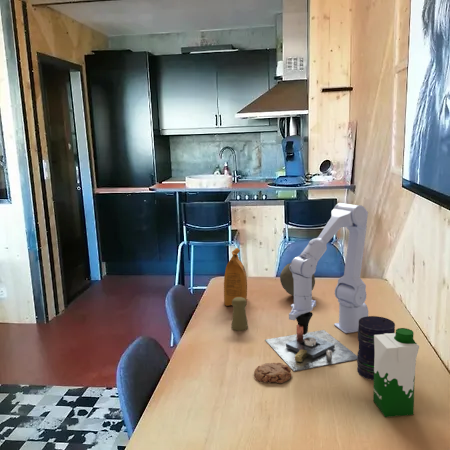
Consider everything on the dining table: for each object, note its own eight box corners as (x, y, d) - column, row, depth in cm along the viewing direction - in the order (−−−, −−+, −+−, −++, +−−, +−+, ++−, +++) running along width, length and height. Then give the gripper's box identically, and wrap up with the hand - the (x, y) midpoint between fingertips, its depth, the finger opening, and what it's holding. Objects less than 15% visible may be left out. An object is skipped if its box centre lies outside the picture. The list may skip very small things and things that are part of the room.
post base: (323, 330, 157) (324, 321, 156) (360, 359, 136) (360, 348, 136) (265, 340, 151) (264, 331, 150) (293, 371, 130) (293, 361, 130)
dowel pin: (330, 358, 137) (330, 349, 136) (332, 360, 135) (332, 351, 135) (325, 358, 136) (325, 350, 136) (328, 361, 135) (328, 352, 134)
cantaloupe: (290, 289, 201) (290, 256, 198) (320, 295, 192) (320, 261, 190) (274, 299, 189) (274, 264, 187) (305, 305, 181) (305, 269, 178)
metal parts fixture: (308, 337, 151) (308, 320, 150) (334, 347, 143) (335, 330, 142) (276, 351, 141) (275, 333, 140) (302, 363, 133) (302, 345, 132)
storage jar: (374, 384, 122) (376, 333, 119) (349, 369, 131) (350, 320, 128) (401, 375, 127) (403, 325, 124) (374, 360, 135) (376, 313, 132)
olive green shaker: (246, 331, 158) (246, 301, 156) (229, 330, 160) (229, 300, 157) (249, 324, 164) (248, 295, 162) (232, 323, 165) (232, 294, 163)
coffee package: (250, 297, 192) (249, 246, 188) (245, 307, 180) (244, 254, 176) (227, 296, 194) (225, 246, 190) (221, 306, 182) (219, 253, 178)
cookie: (248, 373, 131) (248, 363, 130) (280, 364, 135) (280, 355, 134) (264, 389, 122) (264, 379, 121) (298, 380, 126) (298, 370, 125)
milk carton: (419, 417, 108) (423, 338, 104) (382, 419, 107) (385, 341, 103) (401, 396, 116) (405, 323, 113) (367, 399, 116) (370, 325, 112)
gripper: (302, 285, 153) (302, 323, 155) (280, 298, 142) (280, 338, 144) (321, 289, 149) (321, 327, 151) (300, 302, 137) (300, 344, 140)
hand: (303, 333), depth 147 cm, fingers closed, pressing on metal parts fixture
